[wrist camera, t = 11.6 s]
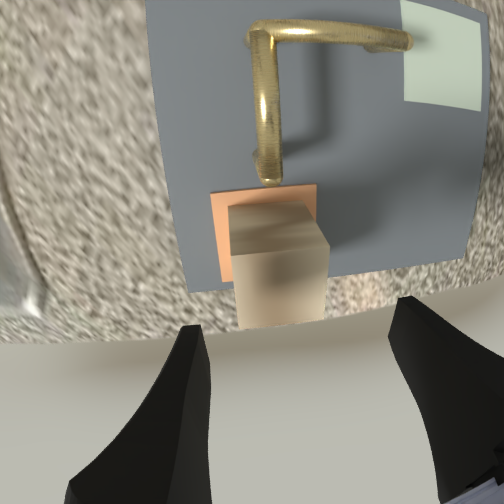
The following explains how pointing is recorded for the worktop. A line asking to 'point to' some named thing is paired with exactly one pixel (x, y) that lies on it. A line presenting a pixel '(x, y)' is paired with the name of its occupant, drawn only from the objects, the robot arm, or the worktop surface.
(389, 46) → the brass corner pipe rail
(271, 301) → the block
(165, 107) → the board
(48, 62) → the worktop surface
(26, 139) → the worktop surface
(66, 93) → the worktop surface
